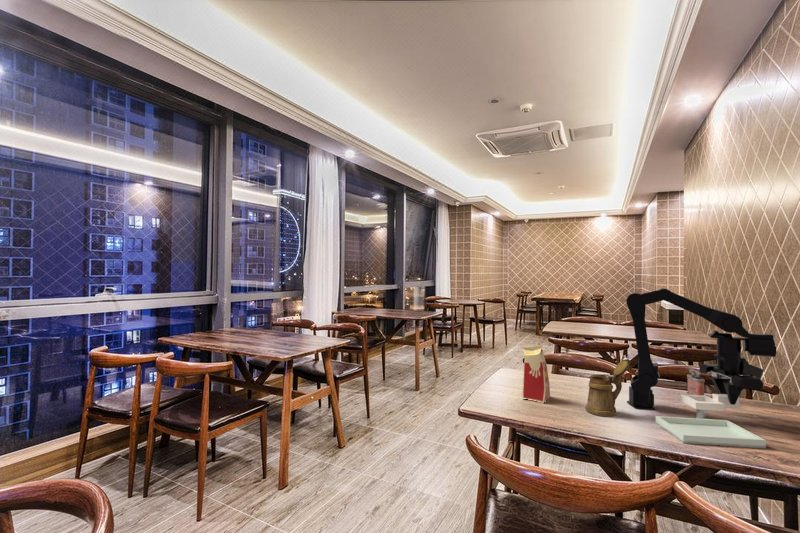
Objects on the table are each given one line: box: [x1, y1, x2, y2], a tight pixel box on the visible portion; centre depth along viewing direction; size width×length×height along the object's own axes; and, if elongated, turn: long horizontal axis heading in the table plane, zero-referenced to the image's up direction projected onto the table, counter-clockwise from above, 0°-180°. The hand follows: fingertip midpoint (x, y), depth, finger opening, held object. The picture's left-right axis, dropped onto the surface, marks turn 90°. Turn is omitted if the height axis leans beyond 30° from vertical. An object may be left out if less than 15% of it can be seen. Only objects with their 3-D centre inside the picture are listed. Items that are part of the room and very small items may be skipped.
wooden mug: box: [585, 358, 631, 418], centre depth 122 cm, size 9×14×18 cm, turn 81°
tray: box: [655, 415, 767, 450], centre depth 105 cm, size 20×14×2 cm
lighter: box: [686, 368, 705, 395], centre depth 138 cm, size 8×3×10 cm, turn 168°
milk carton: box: [521, 344, 551, 404], centre depth 136 cm, size 9×9×20 cm
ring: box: [679, 393, 741, 412], centre depth 116 cm, size 14×8×4 cm, turn 82°
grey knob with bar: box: [695, 409, 707, 419], centre depth 116 cm, size 2×3×5 cm
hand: (729, 402), depth 115 cm, fingers closed on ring, 2 cm apart
